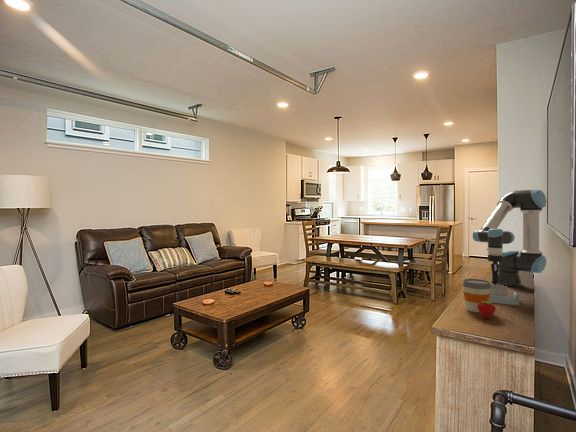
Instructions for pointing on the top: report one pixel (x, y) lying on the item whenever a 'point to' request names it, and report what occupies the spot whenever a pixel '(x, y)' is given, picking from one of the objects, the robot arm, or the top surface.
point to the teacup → (498, 290)
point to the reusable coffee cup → (475, 293)
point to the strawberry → (486, 309)
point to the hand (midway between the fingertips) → (494, 293)
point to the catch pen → (505, 299)
